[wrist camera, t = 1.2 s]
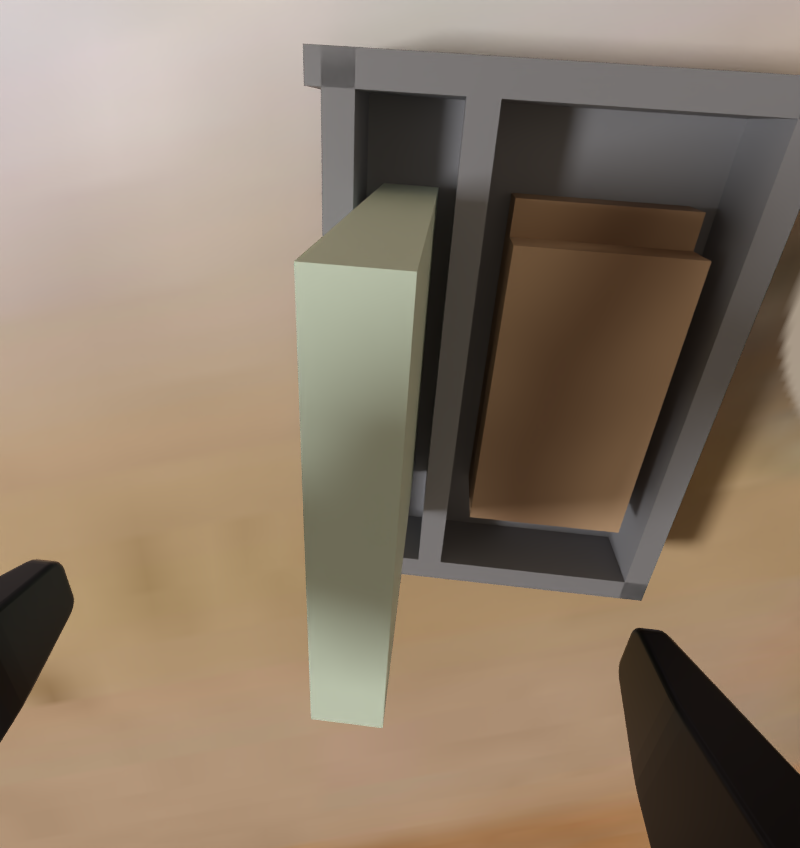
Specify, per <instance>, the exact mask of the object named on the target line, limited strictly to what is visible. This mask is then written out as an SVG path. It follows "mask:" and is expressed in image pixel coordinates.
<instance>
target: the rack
mask: <svg viewBox="0 0 800 848" xmlns="http://www.w3.org/2000/svg"><path fill="white" fill-rule="evenodd" d="M303 66H304V86H309V87H313V88H317V89H321V142H322V231H323V236H324V235H325V234H326V233H327V232H328V231H330V230H331V229H332V228H333V227H334V226H335V225H336V224H338V223H339V222H340V221H341V220H342V219H343V218H344V217H346V216H347V215H348V214H349V213H350V212H351V211H352V210H354V209H355V208H356V207H357V206H358V205H359V204H361V203H362V202H363V201H364V200H365V199H366V198H367V197H369V196H370V195H371V194H372V193H373V192H374V191H375V190H377V189H378V188H379V187H380V186H381V185H382V184H384V183H389V184H402V185H415V186H429V187H439V190H438V202H437V213H436V224H435V236H434V247H433V258H432V269H431V281H430V292H429V303H428V315H427V326H426V337H425V348H424V360H423V371H422V382H421V394H420V405H419V416H418V427H417V439H416V450H415V461H414V472H413V480H412V489H411V497H410V505H409V514H408V522H407V530H406V538H405V547H404V555H403V563H402V572H401V574H407V575H416V576H425V577H434V578H443V579H452V580H461V581H470V582H479V583H488V584H497V585H506V586H515V587H524V588H533V589H542V590H551V591H559V592H568V593H577V594H586V595H595V596H604V597H613V598H622V599H631V600H640V601H641V600H642V598H643V595H644V593H645V590H646V588H647V585H648V583H649V580H650V578H651V575H652V573H653V570H654V568H655V566H656V563H657V561H658V558H659V556H660V553H661V551H662V548H663V546H664V543H665V541H666V538H667V536H668V533H669V531H670V528H671V526H672V524H673V521H674V519H675V516H676V514H677V511H678V509H679V506H680V504H681V501H682V499H683V496H684V494H685V491H686V489H687V486H688V484H689V482H690V479H691V477H692V474H693V472H694V469H695V467H696V464H697V462H698V459H699V457H700V454H701V452H702V449H703V447H704V444H705V442H706V440H707V437H708V435H709V432H710V430H711V427H712V425H713V422H714V420H715V417H716V415H717V412H718V410H719V407H720V405H721V402H722V400H723V397H724V395H725V393H726V390H727V388H728V385H729V383H730V380H731V378H732V375H733V373H734V370H735V368H736V365H737V363H738V360H739V358H740V355H741V353H742V351H743V348H744V346H745V343H746V341H747V338H748V336H749V333H750V331H751V328H752V326H753V323H754V321H755V318H756V316H757V313H758V311H759V309H760V306H761V304H762V301H763V299H764V296H765V294H766V291H767V289H768V286H769V284H770V281H771V279H772V276H773V274H774V271H775V269H776V267H777V264H778V262H779V259H780V257H781V254H782V252H783V249H784V247H785V244H786V242H787V239H788V237H789V234H790V232H791V229H792V227H793V225H794V222H795V220H796V217H797V215H798V212H799V210H800V75H789V74H773V73H758V72H742V71H726V70H710V69H694V68H679V67H663V66H647V65H631V64H616V63H600V62H584V61H568V60H553V59H537V58H521V57H505V56H490V55H474V54H458V53H442V52H427V51H411V50H395V49H379V48H363V47H348V46H332V45H316V44H303ZM511 193H521V194H534V195H547V196H561V197H574V198H587V199H600V200H613V201H627V202H640V203H653V204H666V205H679V206H690V207H692V208H695V209H698V210H701V211H703V212H706V214H705V217H704V220H703V223H702V226H701V230H700V233H699V236H698V239H697V242H696V245H695V248H694V252H695V253H697V254H699V255H701V256H703V257H704V258H706V259H708V260H710V261H712V262H711V265H710V267H709V270H708V273H707V276H706V279H705V282H704V285H703V288H702V291H701V294H700V297H699V299H698V302H697V305H696V308H695V311H694V314H693V317H692V320H691V323H690V326H689V329H688V331H687V334H686V337H685V340H684V343H683V346H682V349H681V352H680V355H679V358H678V361H677V364H676V366H675V369H674V372H673V375H672V378H671V381H670V384H669V387H668V390H667V393H666V396H665V398H664V401H663V404H662V407H661V410H660V413H659V416H658V419H657V422H656V425H655V428H654V430H653V433H652V436H651V439H650V442H649V445H648V448H647V451H646V454H645V457H644V460H643V462H642V465H641V468H640V471H639V474H638V477H637V480H636V483H635V486H634V489H633V492H632V494H631V497H630V500H629V503H628V506H627V509H626V512H625V515H624V518H623V521H622V524H621V527H620V529H619V532H618V533H616V532H606V531H597V530H587V529H578V528H568V527H559V526H549V525H540V524H531V523H521V522H512V521H502V520H493V519H483V518H474V517H470V503H469V470H470V464H471V457H472V451H473V444H474V437H475V431H476V424H477V418H478V411H479V404H480V398H481V391H482V385H483V378H484V371H485V365H486V358H487V352H488V345H489V338H490V332H491V325H492V319H493V312H494V305H495V299H496V292H497V286H498V279H499V273H500V266H501V259H502V253H503V246H504V240H505V233H506V226H507V220H508V213H509V207H510V200H511Z"/></svg>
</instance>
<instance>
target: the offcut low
mask: <svg viewBox="0 0 800 848" xmlns="http://www.w3.org/2000/svg"><path fill="white" fill-rule="evenodd" d="M705 214H706V212H703V211H701V210H698V209H695V208H692V207H690V206H679V205H666V204H653V203H640V202H627V201H613V200H600V199H587V198H574V197H561V196H547V195H534V194H521V193H511V200H510V207H509V213H508V220H507V226H506V233H505V240H504V246H503V253H502V259H501V266H500V273H499V279H498V286H497V292H496V299H495V305H494V312H493V319H492V325H491V332H490V338H489V345H488V352H487V358H486V365H485V371H484V378H483V385H482V391H481V398H480V404H479V411H478V418H477V424H476V431H475V437H474V444H473V451H472V457H471V464H470V470H469V494H470V488H471V481H472V475H473V468H474V462H475V456H476V449H477V443H478V436H479V430H480V423H481V417H482V411H483V404H484V398H485V391H486V385H487V379H488V372H489V366H490V359H491V353H492V346H493V340H494V334H495V327H496V321H497V314H498V308H499V301H500V295H501V289H502V282H503V276H504V269H505V263H506V256H507V250H508V244H509V237H519V238H532V239H544V240H557V241H569V242H582V243H594V244H607V245H619V246H632V247H644V248H657V249H669V250H682V251H694V248H695V245H696V242H697V239H698V236H699V233H700V230H701V226H702V223H703V220H704V217H705Z"/></svg>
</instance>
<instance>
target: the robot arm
mask: <svg viewBox="0 0 800 848" xmlns="http://www.w3.org/2000/svg"><path fill="white" fill-rule="evenodd" d="M73 604H74V597H73V593H72V591H71V588H70V585H69V582H68V579H67V576H66V573H65V570H64V568H63V566H62V565H61V564H60V563H59V562H56V561H48V560H38V559H36V560H31V561H28V562H26V563H24V564H22V565H20V566H18V567H16V568H14V569H12V570H11V571H9V572H7V573H5V574H3V575H1V576H0V742H1V740H2V739H3V737H4V736H5V734H6V733H7V731H8V729H9V728H10V726H11V725H12V723H13V722H14V720H15V718H16V717H17V715H18V713H19V712H20V710H21V708H22V707H23V705H24V703H25V701H26V699H27V698H28V696H29V694H30V692H31V690H32V688H33V686H34V684H35V683H36V681H37V679H38V677H39V675H40V673H41V671H42V669H43V667H44V665H45V663H46V661H47V659H48V657H49V655H50V653H51V651H52V649H53V647H54V645H55V643H56V641H57V640H58V638H59V636H60V634H61V632H62V630H63V628H64V626H65V624H66V622H67V620H68V618H69V616H70V614H71V612H72V609H73ZM619 681H620V688H621V694H622V701H623V708H624V714H625V721H626V728H627V734H628V741H629V748H630V755H631V761H632V768H633V774H634V779H635V785H636V789H637V794H638V798H639V802H640V807H641V810H642V814H643V818H644V822H645V826H646V830H647V834H648V838H649V842H650V846H651V848H800V774H799V773H798V772H797V771H796V770H795V769H794V768H793V767H792V766H791V765H790V764H789V763H788V762H787V761H786V759H785V758H784V757H783V756H782V755H781V754H780V753H779V752H778V751H777V750H776V749H775V748H774V747H773V746H772V745H771V744H770V743H769V741H768V740H767V739H766V738H765V737H764V736H763V735H762V734H761V733H760V732H759V731H758V730H757V729H756V728H755V727H754V726H753V725H752V723H751V722H750V721H749V720H748V719H747V718H746V717H745V716H744V715H743V714H742V713H741V712H740V711H739V710H738V709H737V708H736V707H735V705H734V704H733V703H732V702H731V701H730V700H729V699H728V698H727V697H726V696H725V695H724V694H723V693H722V692H721V691H720V690H719V689H718V687H717V686H716V685H715V684H714V683H713V682H712V681H711V680H710V679H709V678H708V677H707V676H706V675H705V674H704V673H703V672H702V671H701V669H700V668H699V667H698V666H697V665H696V664H695V663H694V662H693V661H692V660H691V659H690V658H689V657H688V656H687V655H686V654H685V653H684V651H683V650H682V649H681V648H680V647H679V646H678V645H677V644H676V643H675V642H674V641H673V640H672V639H671V638H670V637H669V636H668V635H667V634H666V633H664V632H663V631H660V630H654V629H645V628H636V629H635V630H634V631H633V632H632V633H631V636H630V638H629V641H628V643H627V645H626V648H625V650H624V653H623V655H622V658H621V660H620V664H619Z"/></svg>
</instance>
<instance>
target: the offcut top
mask: <svg viewBox="0 0 800 848" xmlns="http://www.w3.org/2000/svg"><path fill="white" fill-rule="evenodd" d="M711 262H712V261H710V260H708V259H706V258H704V257H703V256H701V255H699V254H697V253H695V252H694V251H682V250H669V249H657V248H644V247H632V246H619V245H607V244H594V243H582V242H569V241H557V240H544V239H532V238H519V237H509V244H508V250H507V256H506V263H505V269H504V276H503V282H502V289H501V295H500V301H499V308H498V314H497V321H496V327H495V334H494V340H493V346H492V353H491V359H490V366H489V372H488V379H487V385H486V391H485V398H484V404H483V411H482V417H481V423H480V430H479V436H478V443H477V449H476V456H475V462H474V468H473V475H472V481H471V488H470V494H469V503H470V517H474V518H483V519H493V520H502V521H512V522H521V523H531V524H540V525H549V526H559V527H568V528H578V529H587V530H597V531H606V532H616V533H618V532H619V529H620V527H621V524H622V521H623V518H624V515H625V512H626V509H627V506H628V503H629V500H630V497H631V494H632V492H633V489H634V486H635V483H636V480H637V477H638V474H639V471H640V468H641V465H642V462H643V460H644V457H645V454H646V451H647V448H648V445H649V442H650V439H651V436H652V433H653V430H654V428H655V425H656V422H657V419H658V416H659V413H660V410H661V407H662V404H663V401H664V398H665V396H666V393H667V390H668V387H669V384H670V381H671V378H672V375H673V372H674V369H675V366H676V364H677V361H678V358H679V355H680V352H681V349H682V346H683V343H684V340H685V337H686V334H687V331H688V329H689V326H690V323H691V320H692V317H693V314H694V311H695V308H696V305H697V302H698V299H699V297H700V294H701V291H702V288H703V285H704V282H705V279H706V276H707V273H708V270H709V267H710V265H711Z"/></svg>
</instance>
